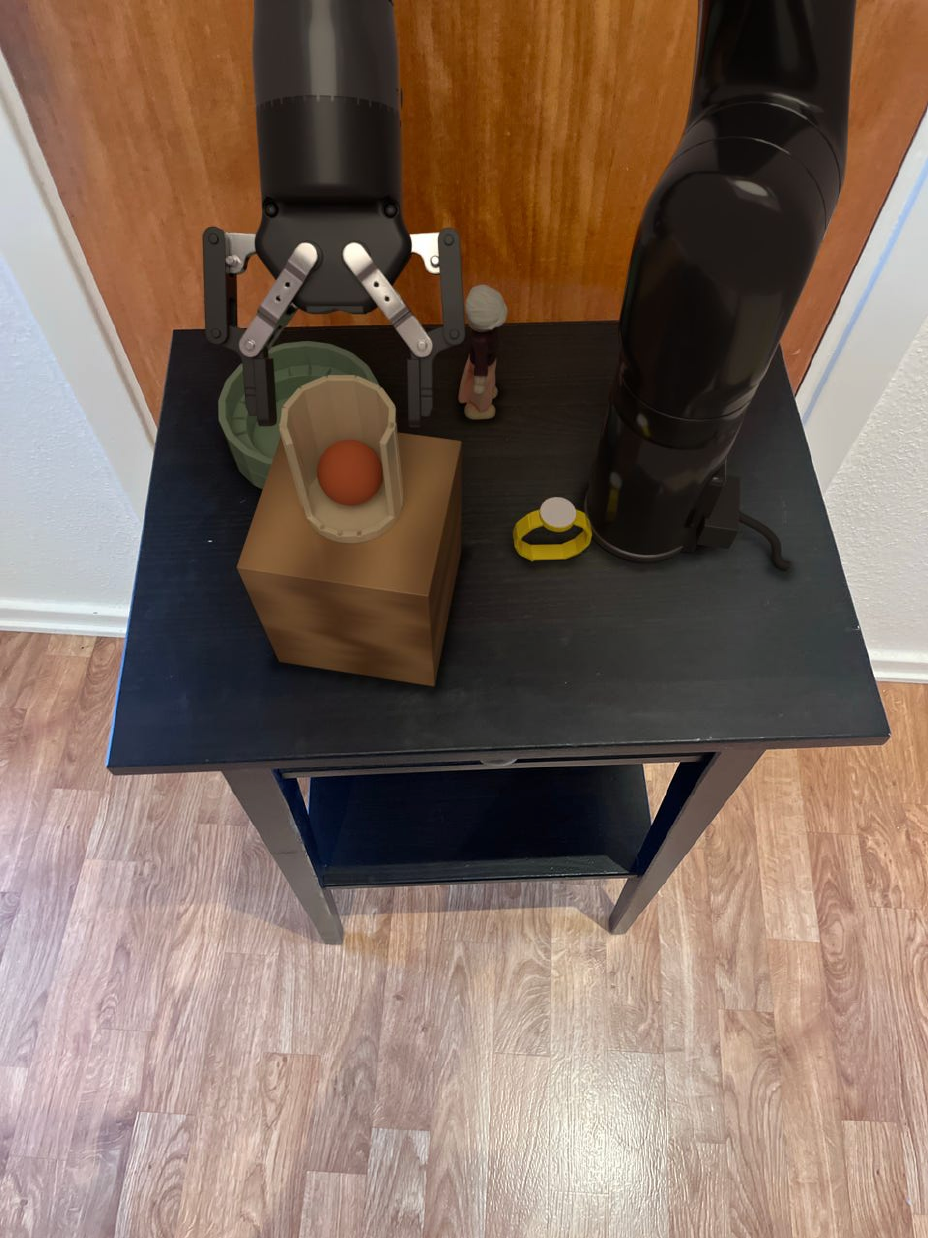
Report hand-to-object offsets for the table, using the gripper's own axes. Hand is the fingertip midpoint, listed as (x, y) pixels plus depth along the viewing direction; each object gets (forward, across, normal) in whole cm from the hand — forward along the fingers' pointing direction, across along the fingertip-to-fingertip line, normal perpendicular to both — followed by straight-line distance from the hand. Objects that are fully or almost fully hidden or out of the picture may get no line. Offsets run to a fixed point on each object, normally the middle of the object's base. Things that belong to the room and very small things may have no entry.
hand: (342, 425), depth 50 cm
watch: (+12, +14, +17) cm, 25 cm away
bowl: (+4, -6, +25) cm, 26 cm away
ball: (+3, 0, +2) cm, 4 cm away
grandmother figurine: (+1, +9, +28) cm, 30 cm away
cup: (+5, 0, +4) cm, 6 cm away
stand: (+15, 0, +14) cm, 20 cm away
